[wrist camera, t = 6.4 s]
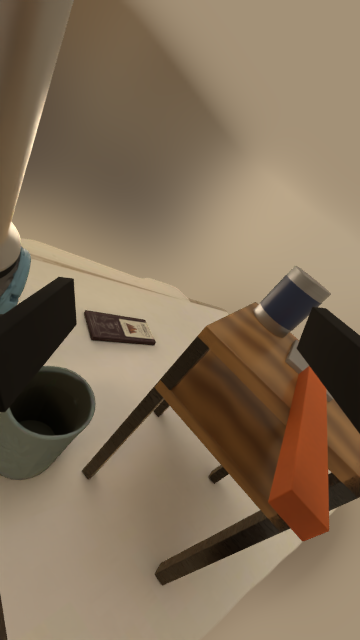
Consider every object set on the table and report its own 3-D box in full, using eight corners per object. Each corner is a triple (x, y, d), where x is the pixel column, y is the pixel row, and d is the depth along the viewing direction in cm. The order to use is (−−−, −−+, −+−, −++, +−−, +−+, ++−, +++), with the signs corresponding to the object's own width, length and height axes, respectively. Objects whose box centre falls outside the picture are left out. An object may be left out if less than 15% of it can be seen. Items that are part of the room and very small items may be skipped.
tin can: (281, 342, 33) (332, 296, 29) (248, 312, 34) (293, 265, 31) (286, 333, 38) (330, 292, 34) (257, 307, 39) (297, 265, 36)
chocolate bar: (85, 310, 63) (144, 319, 75) (84, 312, 63) (143, 322, 76) (93, 336, 58) (155, 342, 70) (91, 339, 58) (154, 345, 70)
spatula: (335, 580, 12) (366, 571, 11) (238, 470, 13) (260, 456, 12) (327, 373, 35) (337, 365, 34) (293, 341, 36) (301, 334, 36)
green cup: (-38, 451, 32) (-19, 396, 26) (29, 401, 41) (54, 352, 35) (25, 503, 31) (57, 459, 26) (78, 441, 40) (110, 398, 35)
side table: (162, 585, 33) (374, 491, 19) (81, 470, 38) (206, 325, 24) (217, 478, 50) (350, 386, 36) (157, 407, 55) (255, 301, 41)
